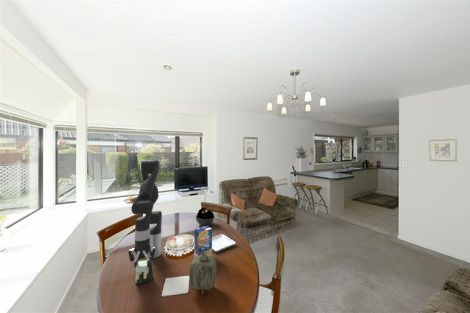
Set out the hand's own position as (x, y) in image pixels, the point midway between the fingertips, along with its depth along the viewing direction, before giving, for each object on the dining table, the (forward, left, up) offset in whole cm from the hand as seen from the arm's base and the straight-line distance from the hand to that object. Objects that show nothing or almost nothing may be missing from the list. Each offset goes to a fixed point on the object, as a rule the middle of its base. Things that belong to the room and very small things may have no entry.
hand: (142, 266), depth 99 cm
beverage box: (-27, +34, -14) cm, 46 cm away
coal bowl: (-89, +38, -14) cm, 98 cm away
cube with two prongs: (0, 0, -5) cm, 5 cm away
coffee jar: (-11, -2, -14) cm, 18 cm away
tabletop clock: (+5, +33, -14) cm, 36 cm away
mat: (-2, +18, -14) cm, 23 cm away
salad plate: (-45, +48, -15) cm, 67 cm away
